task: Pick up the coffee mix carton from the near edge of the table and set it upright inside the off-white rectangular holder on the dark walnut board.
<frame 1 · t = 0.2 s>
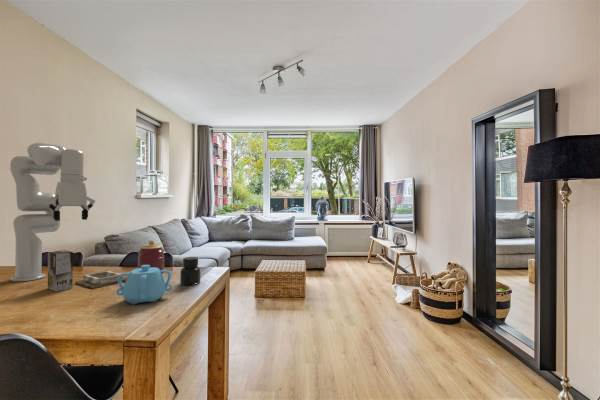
hand: (71, 220, 123), 31 cm above the table, tool pointing down, fingers open, 9 cm apart
canister: (151, 273, 158), on the table
ink bottle: (190, 283, 140), on the table
coffee box: (60, 288, 129), on the table
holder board: (102, 282, 140), on the table
decorative pot: (144, 300, 116), on the table
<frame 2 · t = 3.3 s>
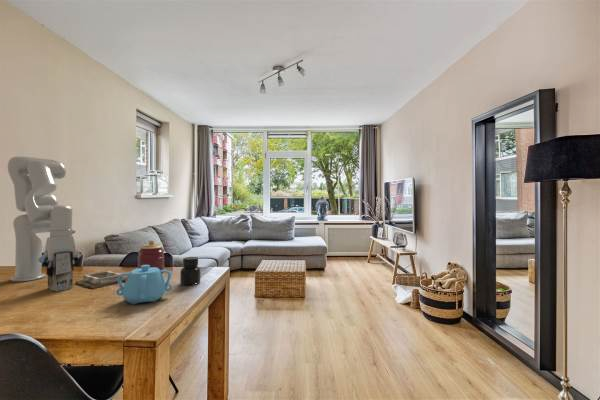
hand: (60, 274, 129), 6 cm above the table, tool pointing down, fingers closed on coffee box, 6 cm apart
coffee box: (60, 288, 129), on the table, touching gripper
everything else where it was.
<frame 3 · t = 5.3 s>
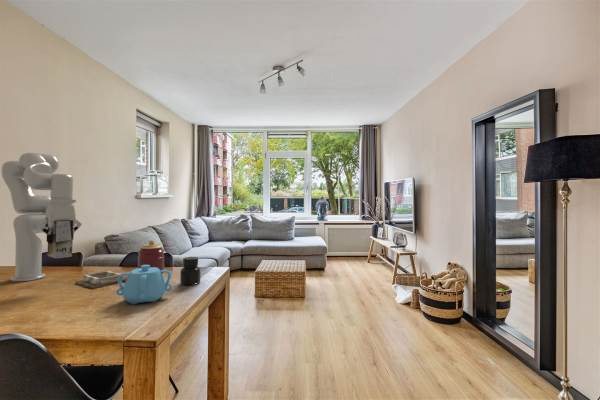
hand: (60, 242, 130), 20 cm above the table, tool pointing down, fingers closed on coffee box, 6 cm apart
coffee box: (59, 256, 130), point 14 cm above the table, touching gripper
everything else where it was.
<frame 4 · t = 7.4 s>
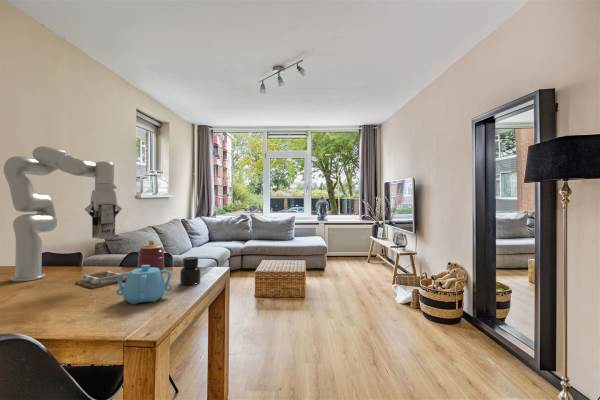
hand: (103, 224, 140), 27 cm above the table, tool pointing down, fingers closed on coffee box, 6 cm apart
coffee box: (103, 238, 140), point 21 cm above the table, touching gripper
everything else where it was.
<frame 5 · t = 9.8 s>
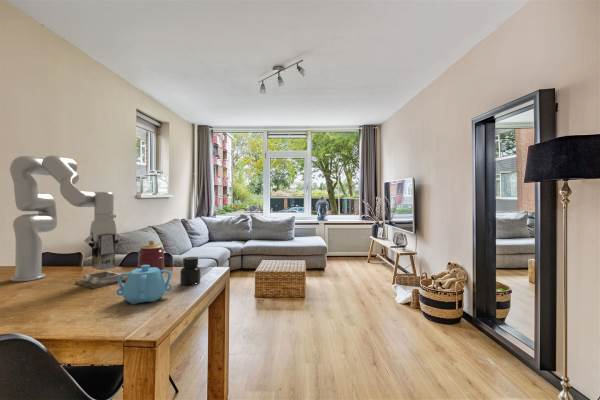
hand: (103, 254, 140), 13 cm above the table, tool pointing down, fingers closed on coffee box, 6 cm apart
coffee box: (103, 268, 140), point 7 cm above the table, touching gripper
everything else where it was.
when the fingers open (8 cm above the table, at t = 11.7 s): coffee box drops 1 cm, resting on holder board.
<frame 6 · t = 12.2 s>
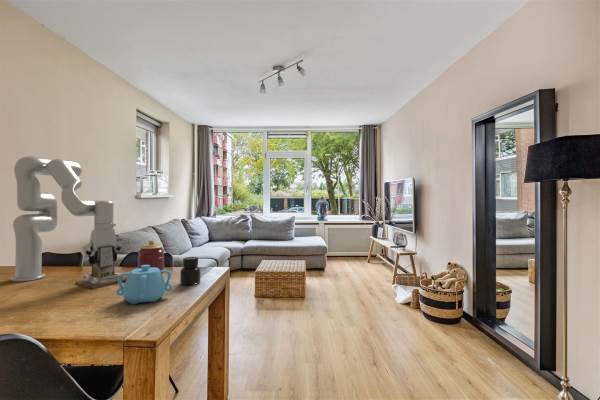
hand: (103, 262, 140), 9 cm above the table, tool pointing down, fingers open, 9 cm apart
coffee box: (102, 280, 140), point 1 cm above the table, touching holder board
everything else where it was.
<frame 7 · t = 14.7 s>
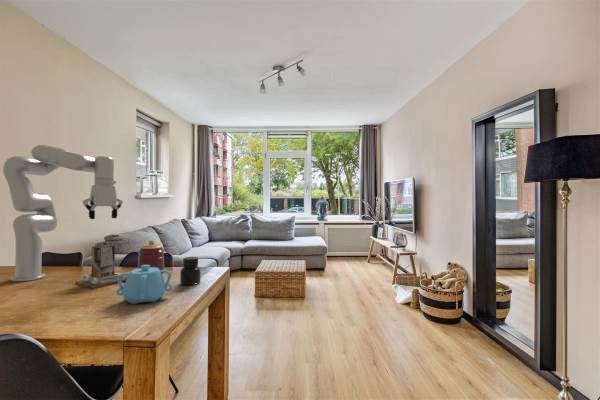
hand: (103, 218, 140), 30 cm above the table, tool pointing down, fingers open, 9 cm apart
nothing on the table moved.
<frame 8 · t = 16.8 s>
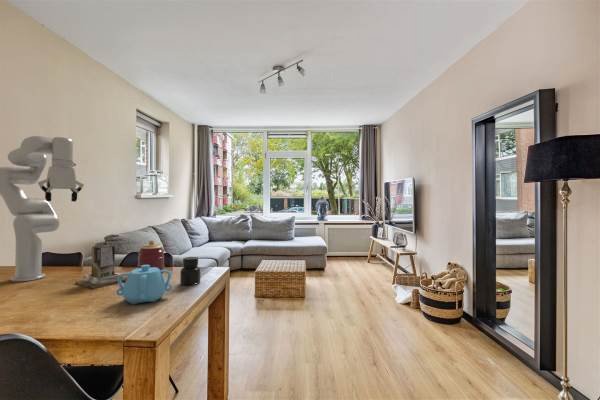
hand: (61, 201, 136), 38 cm above the table, tool pointing down, fingers open, 9 cm apart
nothing on the table moved.
at the end: coffee box 0.2 cm off-centre on the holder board, point 0.8 cm above the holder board's base; coffee box tilted 0°; the gripper is holding nothing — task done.
